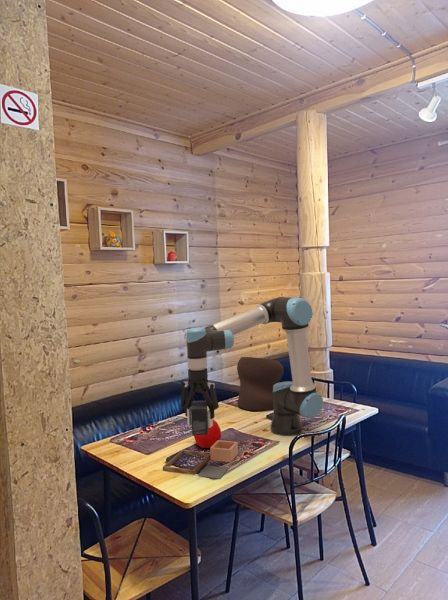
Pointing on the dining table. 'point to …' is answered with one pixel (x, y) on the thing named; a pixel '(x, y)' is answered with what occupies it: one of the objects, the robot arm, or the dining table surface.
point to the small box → (199, 418)
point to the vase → (258, 382)
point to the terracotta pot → (224, 451)
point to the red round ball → (209, 436)
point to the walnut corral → (186, 471)
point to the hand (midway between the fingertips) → (200, 425)
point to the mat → (213, 472)
